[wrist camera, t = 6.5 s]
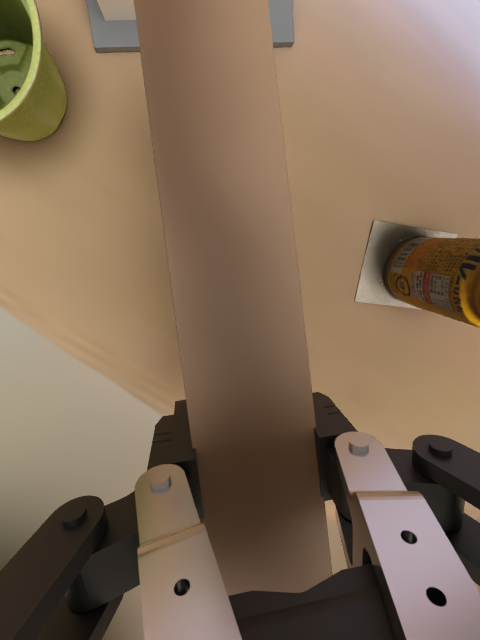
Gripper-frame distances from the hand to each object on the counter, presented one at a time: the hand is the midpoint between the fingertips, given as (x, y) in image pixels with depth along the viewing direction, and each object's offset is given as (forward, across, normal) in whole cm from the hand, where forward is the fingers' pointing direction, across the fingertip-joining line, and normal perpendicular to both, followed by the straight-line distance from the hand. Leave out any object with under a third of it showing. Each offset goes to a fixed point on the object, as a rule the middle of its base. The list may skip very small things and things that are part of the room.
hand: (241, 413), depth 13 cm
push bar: (+3, 0, -4) cm, 5 cm away
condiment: (+17, -18, -2) cm, 25 cm away
